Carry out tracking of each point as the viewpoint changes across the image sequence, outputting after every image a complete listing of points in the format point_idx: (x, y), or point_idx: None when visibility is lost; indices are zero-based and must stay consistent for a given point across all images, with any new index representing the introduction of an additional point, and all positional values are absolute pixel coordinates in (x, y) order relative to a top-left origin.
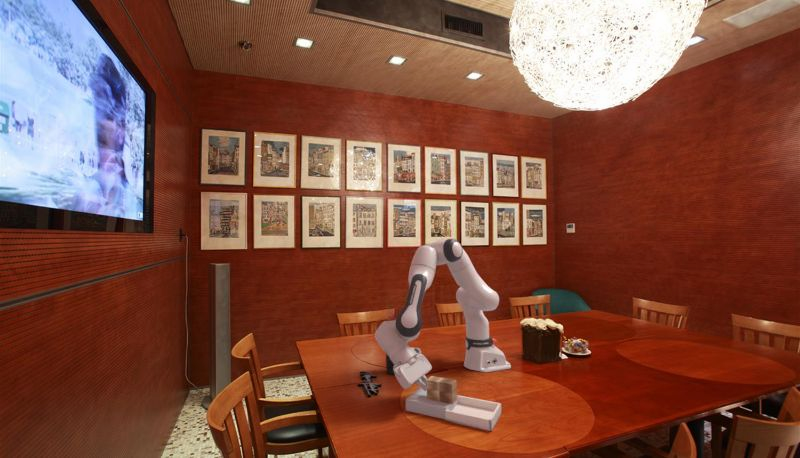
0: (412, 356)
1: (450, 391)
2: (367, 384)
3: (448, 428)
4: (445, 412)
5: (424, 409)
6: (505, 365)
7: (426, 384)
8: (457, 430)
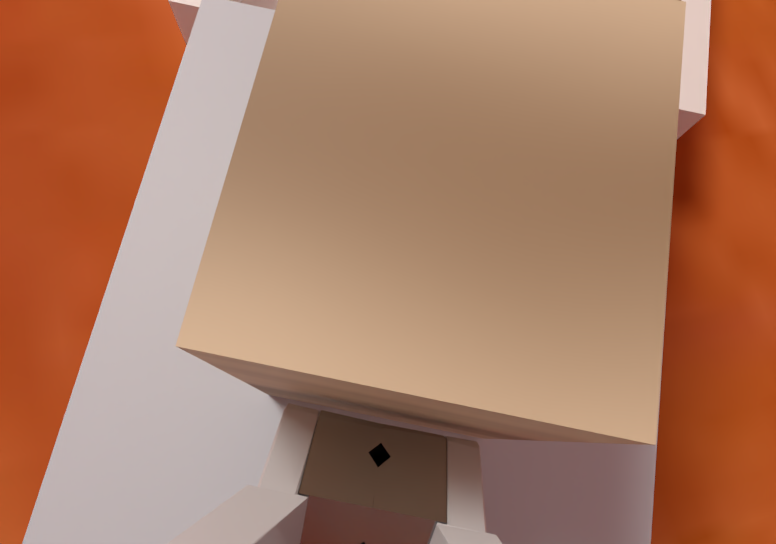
0: None
1: None
2: None
3: (772, 124)
4: (690, 125)
5: None
6: None
7: (396, 490)
8: (770, 44)
